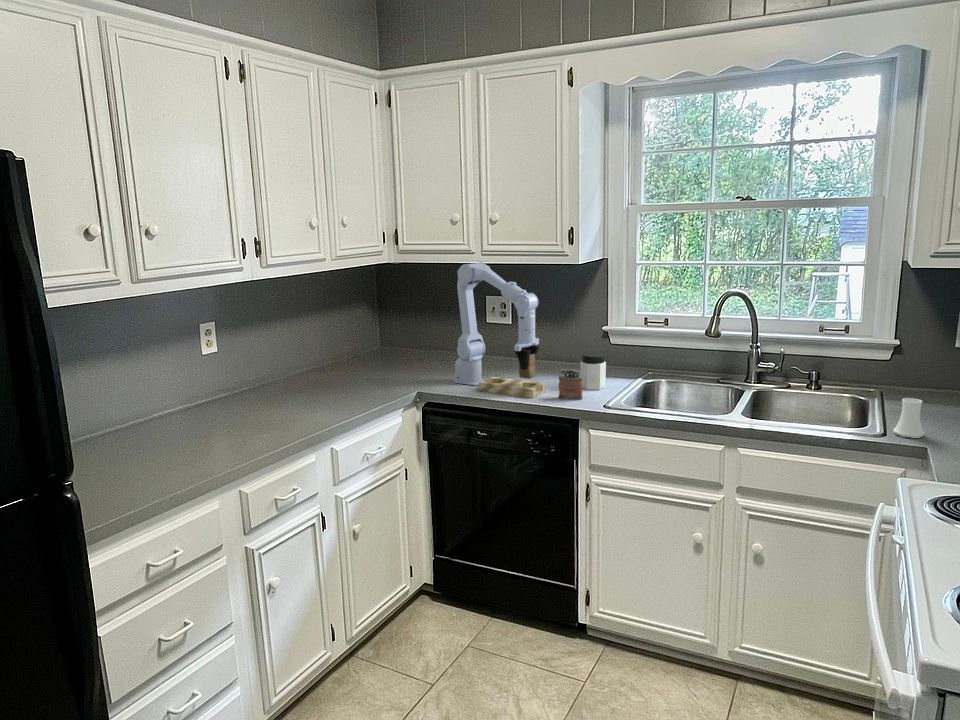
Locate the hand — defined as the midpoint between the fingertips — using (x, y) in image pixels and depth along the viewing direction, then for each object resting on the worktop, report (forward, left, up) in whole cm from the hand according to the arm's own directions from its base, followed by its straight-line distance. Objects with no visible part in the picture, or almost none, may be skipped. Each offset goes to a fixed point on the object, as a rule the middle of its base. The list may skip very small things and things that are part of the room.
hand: (527, 367), depth 254 cm
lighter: (+16, +1, -9) cm, 19 cm away
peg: (0, 0, -3) cm, 3 cm away
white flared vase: (+115, +10, -9) cm, 116 cm away
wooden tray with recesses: (-6, 0, -9) cm, 11 cm away
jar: (+17, +18, -9) cm, 26 cm away
